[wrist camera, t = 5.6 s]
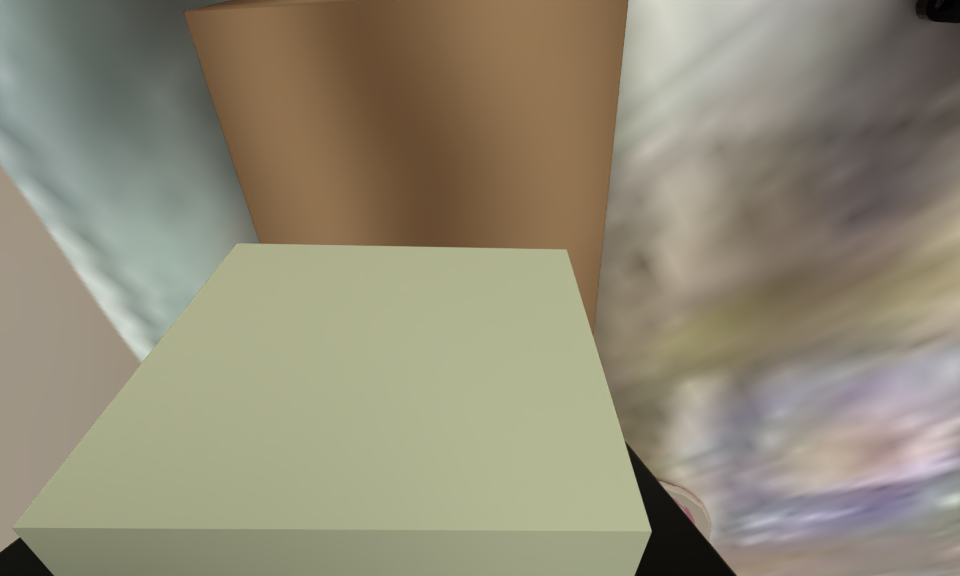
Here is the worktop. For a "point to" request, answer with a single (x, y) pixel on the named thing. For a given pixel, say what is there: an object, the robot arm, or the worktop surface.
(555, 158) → the walnut block
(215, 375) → the sage block
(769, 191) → the worktop surface
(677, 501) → the teacup
